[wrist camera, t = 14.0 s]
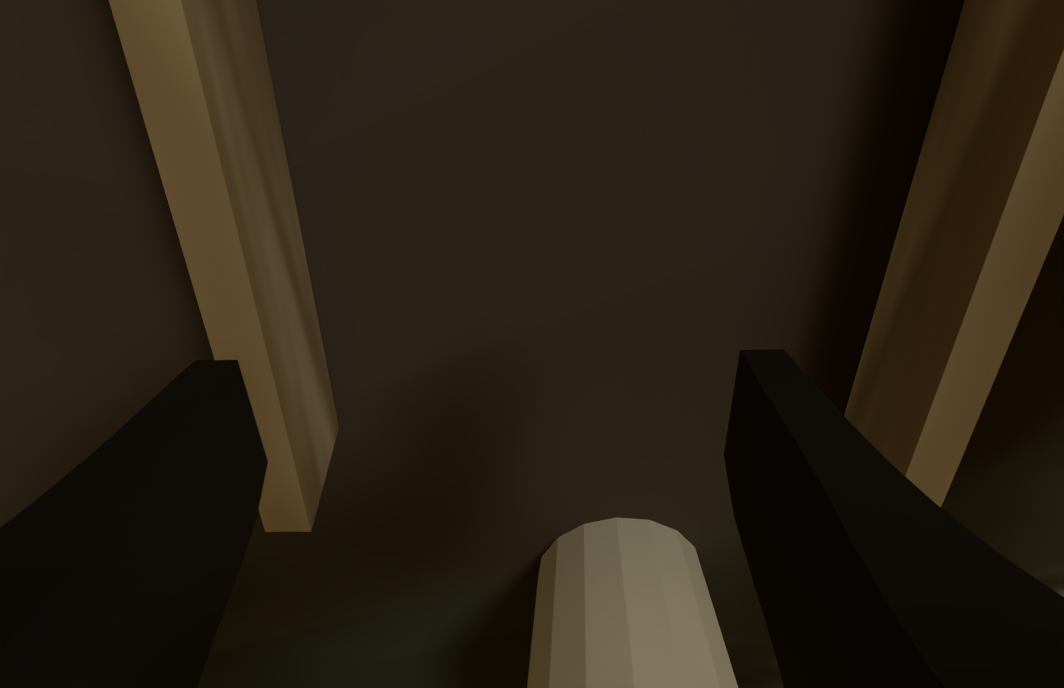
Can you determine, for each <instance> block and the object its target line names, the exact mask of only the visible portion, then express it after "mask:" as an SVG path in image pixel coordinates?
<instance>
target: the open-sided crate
mask: <svg viewBox="0 0 1064 688" xmlns="http://www.w3.org/2000/svg"><path fill="white" fill-rule="evenodd" d="M109 3H110V6H111V10H112V13H113V17H114V20H115V23H116V27H117V30H118V34H119V37H120V40H121V44H122V47H123V51H124V54H125V57H126V61H127V64H128V67H129V71H130V74H131V78H132V81H133V84H134V88H135V91H136V95H137V98H138V101H139V105H140V108H141V112H142V115H143V118H144V122H145V125H146V129H147V132H148V135H149V139H150V142H151V146H152V149H153V152H154V156H155V159H156V163H157V166H158V169H159V173H160V176H161V180H162V183H163V186H164V190H165V193H166V197H167V200H168V203H169V207H170V210H171V213H172V217H173V220H174V224H175V227H176V230H177V234H178V237H179V241H180V244H181V247H182V251H183V254H184V258H185V261H186V264H187V268H188V271H189V275H190V278H191V281H192V285H193V288H194V292H195V295H196V298H197V302H198V305H199V309H200V312H201V315H202V319H203V322H204V326H205V329H206V332H207V336H208V339H209V343H210V346H211V349H212V353H213V356H214V359H215V360H238V363H239V366H240V370H241V373H242V376H243V380H244V383H245V386H246V390H247V393H248V396H249V400H250V403H251V406H252V410H253V413H254V417H255V420H256V423H257V427H258V430H259V433H260V437H261V440H262V443H263V447H264V450H265V453H266V457H267V460H268V464H267V469H266V474H265V479H264V484H263V490H262V495H261V499H260V504H259V508H258V509H259V512H260V516H261V519H262V522H263V526H264V529H265V532H311V530H312V526H313V523H314V519H315V515H316V511H317V508H318V504H319V500H320V496H321V492H322V489H323V485H324V481H325V477H326V474H327V470H328V466H329V462H330V458H331V455H332V451H333V447H334V443H335V440H336V436H337V432H338V428H339V426H338V421H337V415H336V410H335V405H334V400H333V395H332V390H331V384H330V379H329V374H328V369H327V364H326V359H325V353H324V348H323V343H322V338H321V333H320V328H319V322H318V317H317V312H316V307H315V302H314V297H313V292H312V286H311V281H310V276H309V271H308V266H307V261H306V255H305V250H304V245H303V240H302V235H301V230H300V224H299V219H298V214H297V209H296V204H295V199H294V194H293V188H292V183H291V178H290V173H289V168H288V163H287V157H286V152H285V147H284V142H283V137H282V132H281V126H280V121H279V116H278V111H277V106H276V101H275V96H274V90H273V85H272V80H271V75H270V70H269V65H268V59H267V54H266V49H265V44H264V39H263V34H262V28H261V23H260V18H259V13H258V8H257V3H256V0H109ZM1063 216H1064V0H965V1H964V4H963V8H962V11H961V15H960V18H959V22H958V25H957V29H956V32H955V35H954V39H953V42H952V46H951V49H950V53H949V56H948V60H947V63H946V66H945V70H944V73H943V77H942V80H941V84H940V87H939V91H938V94H937V97H936V101H935V104H934V108H933V111H932V115H931V118H930V122H929V125H928V128H927V132H926V135H925V139H924V142H923V146H922V149H921V153H920V156H919V159H918V163H917V166H916V170H915V173H914V177H913V180H912V184H911V187H910V190H909V194H908V197H907V201H906V204H905V208H904V211H903V214H902V218H901V221H900V225H899V228H898V232H897V235H896V239H895V242H894V245H893V249H892V252H891V256H890V259H889V263H888V266H887V270H886V273H885V276H884V280H883V283H882V287H881V290H880V294H879V297H878V301H877V304H876V307H875V311H874V314H873V318H872V321H871V325H870V328H869V332H868V335H867V338H866V342H865V345H864V349H863V352H862V356H861V359H860V363H859V366H858V369H857V373H856V376H855V380H854V383H853V387H852V390H851V394H850V397H849V400H848V404H847V407H846V411H845V414H844V416H845V417H846V418H847V419H848V420H849V421H850V423H851V424H852V425H853V426H854V427H855V428H856V429H857V430H858V431H859V432H860V433H861V434H862V435H863V436H864V437H865V438H866V439H867V440H868V441H869V442H870V443H871V444H872V445H873V446H874V447H875V448H876V449H877V450H878V451H879V452H880V453H881V454H882V455H883V456H884V457H885V458H886V459H887V460H888V461H889V462H890V463H891V464H892V465H893V466H895V467H896V468H897V469H898V470H899V471H900V472H901V473H902V474H903V475H904V476H905V477H907V478H908V479H909V480H910V481H911V482H912V483H913V484H914V485H915V486H917V487H918V488H919V489H920V490H921V491H922V492H923V493H924V494H925V495H927V496H928V497H929V498H930V499H931V500H932V501H933V502H935V503H936V504H937V505H938V506H939V507H941V506H942V504H943V501H944V499H945V497H946V494H947V492H948V490H949V487H950V485H951V482H952V480H953V478H954V475H955V473H956V470H957V468H958V466H959V463H960V461H961V459H962V456H963V454H964V451H965V449H966V447H967V444H968V442H969V440H970V437H971V435H972V432H973V430H974V428H975V425H976V423H977V420H978V418H979V416H980V413H981V411H982V409H983V406H984V404H985V401H986V399H987V397H988V394H989V392H990V389H991V387H992V385H993V382H994V380H995V378H996V375H997V373H998V370H999V368H1000V366H1001V363H1002V361H1003V358H1004V356H1005V354H1006V351H1007V349H1008V347H1009V344H1010V342H1011V339H1012V337H1013V335H1014V332H1015V330H1016V328H1017V325H1018V323H1019V320H1020V318H1021V316H1022V313H1023V311H1024V308H1025V306H1026V304H1027V301H1028V299H1029V297H1030V294H1031V292H1032V289H1033V287H1034V285H1035V282H1036V280H1037V277H1038V275H1039V273H1040V270H1041V268H1042V266H1043V263H1044V261H1045V258H1046V256H1047V254H1048V251H1049V249H1050V246H1051V244H1052V242H1053V239H1054V237H1055V235H1056V232H1057V230H1058V227H1059V225H1060V223H1061V220H1062V218H1063Z"/></svg>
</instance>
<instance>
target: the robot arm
mask: <svg viewBox="0 0 1064 688" xmlns="http://www.w3.org/2000/svg"><path fill="white" fill-rule="evenodd" d="M724 457H725V463H726V470H727V476H728V483H729V489H730V495H731V500H732V506H733V512H734V517H735V521H736V524H737V528H738V531H739V534H740V538H741V541H742V545H743V548H744V551H745V555H746V558H747V561H748V565H749V568H750V571H751V575H752V578H753V581H754V585H755V588H756V591H757V595H758V598H759V601H760V605H761V608H762V611H763V614H764V618H765V621H766V624H767V628H768V631H769V634H770V638H771V641H772V644H773V648H774V651H775V654H776V658H777V662H778V666H779V670H780V674H781V678H782V682H783V686H784V688H1064V597H1062V596H1061V595H1059V594H1058V593H1056V592H1055V591H1053V590H1052V589H1050V588H1049V587H1048V586H1046V585H1045V584H1043V583H1042V582H1040V581H1039V580H1037V579H1036V578H1034V577H1033V576H1031V575H1030V574H1028V573H1027V572H1025V571H1024V570H1022V569H1021V568H1019V567H1018V566H1016V565H1015V564H1014V563H1012V562H1011V561H1009V560H1008V559H1007V558H1005V557H1004V556H1002V555H1001V554H1000V553H998V552H997V551H996V550H994V549H993V548H991V547H990V546H989V545H988V544H986V543H985V542H984V541H982V540H981V539H980V538H979V537H977V536H976V535H975V534H973V533H972V532H971V531H970V530H968V529H967V528H966V527H964V526H963V525H962V524H961V523H959V522H958V521H957V520H955V519H954V518H953V517H952V516H950V515H949V514H948V513H947V512H945V511H944V510H943V509H942V508H941V507H939V506H938V505H937V504H936V503H935V502H933V501H932V500H931V499H930V498H929V497H928V496H927V495H925V494H924V493H923V492H922V491H921V490H920V489H919V488H918V487H917V486H915V485H914V484H913V483H912V482H911V481H910V480H909V479H908V478H907V477H905V476H904V475H903V474H902V473H901V472H900V471H899V470H898V469H897V468H896V467H895V466H893V465H892V464H891V463H890V462H889V461H888V460H887V459H886V458H885V457H884V456H883V455H882V454H881V453H880V452H879V451H878V450H877V449H876V448H875V447H874V446H873V445H872V444H871V443H870V442H869V441H868V440H867V439H866V438H865V437H864V436H863V435H862V434H861V433H860V432H859V431H858V430H857V429H856V428H855V427H854V426H853V425H852V424H851V423H850V421H849V420H848V419H847V418H846V417H845V416H844V415H843V414H842V413H841V412H840V411H839V410H838V409H837V408H836V407H835V405H834V404H833V403H832V402H831V401H830V400H829V399H828V398H827V397H826V396H825V395H824V394H823V392H822V391H821V390H820V389H819V388H818V387H817V386H816V385H815V384H814V382H813V381H812V380H811V379H810V378H809V377H808V376H807V375H806V374H805V372H804V371H803V370H802V369H801V368H800V367H799V366H798V365H797V364H796V362H795V361H794V360H793V359H792V358H791V357H790V356H789V355H788V354H787V353H786V352H785V351H784V350H783V349H782V350H740V355H739V361H738V368H737V374H736V380H735V387H734V393H733V400H732V406H731V412H730V419H729V425H728V432H727V438H726V444H725V451H724ZM267 464H268V460H267V457H266V453H265V450H264V447H263V443H262V440H261V437H260V433H259V430H258V427H257V423H256V420H255V417H254V413H253V410H252V406H251V403H250V400H249V396H248V393H247V390H246V386H245V383H244V380H243V376H242V373H241V370H240V366H239V363H238V360H198V361H195V362H193V363H192V364H191V365H190V366H189V367H188V368H186V369H185V370H184V371H183V372H182V373H181V374H179V375H178V376H177V377H176V378H175V379H174V380H173V381H172V382H171V383H170V384H168V385H167V386H166V387H165V388H164V389H163V390H162V391H161V392H160V393H159V394H158V395H157V396H155V397H154V398H153V399H152V400H151V401H150V402H149V403H148V404H147V405H146V406H145V407H144V408H142V409H141V410H140V411H139V412H138V413H137V414H136V415H135V416H134V417H133V418H132V419H130V420H129V421H128V422H127V423H126V424H125V425H124V426H123V427H122V428H120V429H119V430H118V431H117V432H116V433H115V434H114V435H113V436H111V437H110V438H109V439H108V440H107V441H106V442H105V443H104V444H103V445H101V446H100V447H99V448H98V449H97V450H96V451H95V452H94V453H92V454H91V455H90V456H89V457H88V458H87V459H85V460H84V461H83V462H82V463H81V464H79V465H78V466H77V467H76V468H75V469H73V470H72V471H71V472H70V473H68V474H67V475H66V476H65V477H64V478H62V479H61V480H60V481H59V482H58V483H56V484H55V485H54V486H53V487H51V488H50V489H49V490H48V491H47V492H45V493H44V494H43V495H42V496H41V497H39V498H38V499H37V500H36V501H34V502H33V503H32V504H31V505H30V506H28V507H27V508H26V509H24V510H23V511H22V512H20V513H19V514H18V515H16V516H15V517H14V518H12V519H11V520H10V521H8V522H7V523H6V524H4V525H3V526H2V527H0V688H197V687H198V684H199V681H200V678H201V675H202V671H203V668H204V665H205V662H206V659H207V656H208V653H209V651H210V648H211V645H212V642H213V640H214V637H215V634H216V631H217V629H218V626H219V623H220V620H221V618H222V615H223V612H224V609H225V607H226V604H227V601H228V598H229V596H230V593H231V590H232V587H233V585H234V582H235V579H236V576H237V574H238V571H239V568H240V565H241V562H242V560H243V557H244V554H245V551H246V548H247V545H248V543H249V540H250V537H251V534H252V531H253V528H254V525H255V521H256V517H257V513H258V508H259V504H260V499H261V495H262V490H263V484H264V479H265V474H266V469H267Z"/></svg>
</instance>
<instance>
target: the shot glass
mask: <svg viewBox="0 0 1064 688" xmlns="http://www.w3.org/2000/svg"><path fill="white" fill-rule="evenodd" d="M527 688H738V686H737V682H736V679H735V676H734V673H733V669H732V666H731V663H730V660H729V656H728V653H727V650H726V647H725V643H724V640H723V637H722V634H721V631H720V627H719V624H718V621H717V618H716V614H715V611H714V608H713V605H712V601H711V598H710V595H709V592H708V588H707V585H706V582H705V579H704V576H703V572H702V569H701V566H700V563H699V559H698V556H697V553H696V550H695V547H694V546H693V545H692V544H691V543H690V542H689V541H688V540H686V539H685V538H684V537H683V536H682V535H681V534H680V533H679V532H678V531H677V530H674V529H672V528H669V527H666V526H664V525H661V524H658V523H656V522H653V521H651V520H643V519H629V518H612V519H607V520H602V521H596V522H591V523H586V524H583V525H581V526H579V527H577V528H575V529H573V530H571V531H570V532H568V533H566V534H564V535H562V536H560V537H558V538H557V539H556V540H555V541H554V543H553V544H552V545H551V546H550V547H549V548H548V550H547V551H546V552H545V553H544V554H543V555H542V558H541V563H540V569H539V575H538V584H537V594H536V603H535V613H534V623H533V633H532V643H531V653H530V663H529V673H528V683H527Z"/></svg>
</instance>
